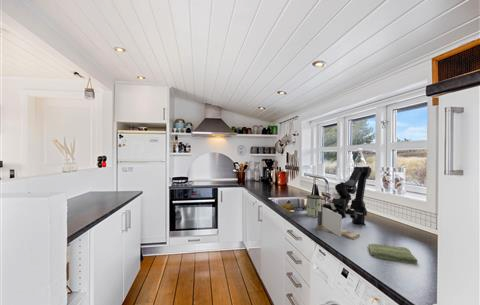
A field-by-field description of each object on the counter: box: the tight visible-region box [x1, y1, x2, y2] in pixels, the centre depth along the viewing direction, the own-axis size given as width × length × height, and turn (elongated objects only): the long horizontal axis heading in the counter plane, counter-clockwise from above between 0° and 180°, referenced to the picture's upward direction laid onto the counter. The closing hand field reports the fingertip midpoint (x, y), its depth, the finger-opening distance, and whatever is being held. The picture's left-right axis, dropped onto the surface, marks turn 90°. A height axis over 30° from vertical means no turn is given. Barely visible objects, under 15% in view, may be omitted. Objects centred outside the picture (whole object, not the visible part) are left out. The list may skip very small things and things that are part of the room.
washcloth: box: [367, 243, 419, 264], centre depth 103 cm, size 13×18×3 cm
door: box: [321, 206, 343, 238], centre depth 129 cm, size 20×1×11 cm, turn 8°
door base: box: [314, 209, 361, 240], centre depth 132 cm, size 23×8×10 cm, turn 41°
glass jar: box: [305, 194, 322, 218], centre depth 167 cm, size 10×10×14 cm
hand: (334, 223), depth 128 cm, fingers closed
